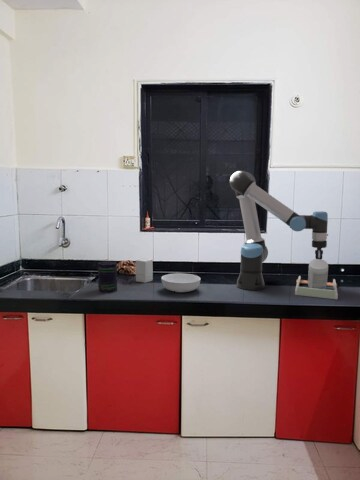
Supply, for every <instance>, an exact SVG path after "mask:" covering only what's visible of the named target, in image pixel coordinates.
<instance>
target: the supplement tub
mask: <svg viewBox="0 0 360 480" xmlns="http://www.w3.org/2000/svg"><path fill="white" fill-rule="evenodd" d="M328 274H329V263H328V262H327V261H325V260H324V259H316V258H314V259H312V260H310V261H309V264H308V277H307V280H308V284H307V286H308V288H318V289H326V288H327V287H328V286H327V282H328V278H329V277H328V276H329V275H328Z"/></svg>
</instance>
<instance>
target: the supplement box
mask: <svg viewBox="0 0 360 480" xmlns="http://www.w3.org/2000/svg"><path fill="white" fill-rule="evenodd" d="M153 268H154V267H153V259H149V258H140V259H136V260H135V282H138V283H144V284H146V283H149V282H152V281H153V279H154V276H153V275H154V273H153Z"/></svg>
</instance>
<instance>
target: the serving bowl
mask: <svg viewBox="0 0 360 480" xmlns="http://www.w3.org/2000/svg"><path fill="white" fill-rule="evenodd" d="M160 279H161V284H162V286H163V287H164V288H165V289H166V290H169V291H172V292H174V291H175V292H174V293H187V292H192V291H194V290H196V289H197V288H198V287H199V285H200V284H201V277H200V276H198V275H197V274H193V273H192V274H191V273H179V272H178V273H168V274H165V275H162V276H161V278H160Z"/></svg>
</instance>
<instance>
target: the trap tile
mask: <svg viewBox="0 0 360 480" xmlns="http://www.w3.org/2000/svg"><path fill="white" fill-rule="evenodd" d="M297 281H298V279H296V281H295V283H296V284H297ZM300 284H303V285H304V284H306V285H308V279H307V280H305V279H300ZM327 287H333V282H330V281H329V282H328V281H327ZM336 287H338V283H336Z"/></svg>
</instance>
